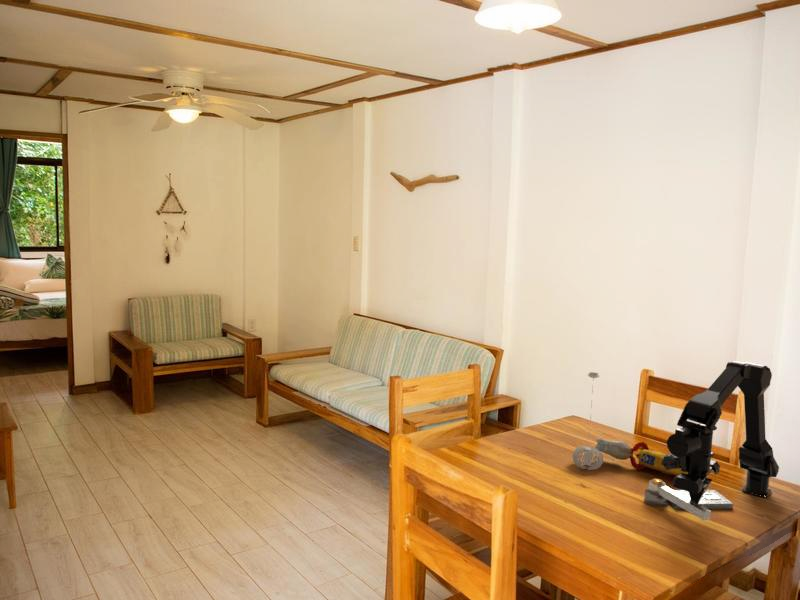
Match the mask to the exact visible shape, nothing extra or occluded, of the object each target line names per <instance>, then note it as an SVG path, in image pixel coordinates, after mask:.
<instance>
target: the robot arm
mask: <svg viewBox="0 0 800 600" xmlns="http://www.w3.org/2000/svg"><path fill="white" fill-rule="evenodd" d="M725 365H726V366H725V369H724V370H723V371H722V372H721V373H720V374H719V375H718V377H717V378H716V379H715V381H713V382H712V383H711V385H710V386H709V387H708V389H706V390H705V391H703V392H702V393H701V392H700V393H698V394H695V395H694V396H693V397H692V398H691V399H689V400H688V402H687V403H686V404H685V405H684V407H683V410H682V412H681V414H680V417H679V418H678V421H677V423H676V425H677V426H678V427H682V428H676V429H675V431H674V433H673V434H671V435H669V437H668V439H667V440H666V447H667V449H668V451H669V453H667V454H665V456H664V457H663V458H662V463H661V464H662V465H663V466H664V467H665V470H670V469H678V468H681V471H683V472H688V474H684V473H681V474H679V475H677V476H676V475H675V476H674V478H673V479H672V487H673V488H675V489H677V490H685V491H688V492H689V494H690V499H691V500H692V501H694V502H696V503H699V501H700V499H701V498H702V496H703V494H704V493H705V491H706V490H708V488H709V486H710V484H711V483H712V482H713V479H712V478H709V477H708V476H709V475H710V474H711V473H713V474H714V475H715V476H717V475H718V474H719V473H720V467H721V465H720V463H719V462H718V461H717V460H713V459H712V458H713V457H714V452H712V445H713V437H714V436H713V435H714V431H717V429H718V427H717V423H718V422H719V420H720V418H721V416H722V414H723V412H722V411H723V410H722V409H723V408H722V406H723V405H724V403H725V402H726V401H727V400H728V398H730V396H731V395H732V394H733V392H734V391H735V390H736V389H737V387H738V388H739V390H740V391H741V393H742V394H743V402H744V403H743V404H744V406H743V407H744V425H745V441H744V442H743V444H741V445H740V447H739V448H738V453H739V454H738V461H739V468H740V469H742V470H747V471H746V479H745V480H746V481H745V485H744V486H743V487H742V489H741V492H742V491H744V492H743V493H746V492H748V493H747V494H749V493H753V494H757V495H761V496H764V495H765V496H766V497H767V496H769V495H770V494H771V493H772V489H770V488H769V485H770V479H771V478H777V475H778V474H779V470H780V467H779V464H778V462H777V461H776V459H775V456H774V450H773V447H772V446H771V444H769V442H768V440H767V438H766V418H765V417H766V416H765V413H766V412H765V393H766V391H767V390H768V388H769V387H770V385H771V380H772V376H773V374H772V371H771V368H770V367H769V366H767V365H763V364H758V363H753V362H748V361H736V360H731V361H728V362H727V363H726V364H725ZM770 492H771V493H770ZM769 493H770V494H769ZM753 494H752V495H753ZM768 494H769V495H768ZM757 495H756V496H757ZM761 496H760V497H761ZM767 498H768V497H767Z"/></svg>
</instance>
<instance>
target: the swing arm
mask: <svg viewBox="0 0 800 600" xmlns="http://www.w3.org/2000/svg"><path fill="white" fill-rule="evenodd" d="M647 489H648V491H649V492H650V493H652V494H656V495H661V496H662V497H664V498H666V499H667V500H669V501H671V502H673V503H674V504H676V505H678V506H680V507H681V508H683V509H682V510H684V511H686V512H688V513H691V515H694V516H695V517H697V518H698V519H700V520H702V521H708V520H709V521H710V520H712V519H711V518H712V510H711V509H707V508H705V507H703V506H701V505H700V504H698V503H696V502H694V501H692V500H691V499H689V498H687V497H685V496H683V495H682V494H680V493H678V492H676V491H674V490H675V489H672V488H670V487H669V486H667V484H666V482H664V481H663V480H662V479H660V478H652V479H650V480H648V488H647Z"/></svg>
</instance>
